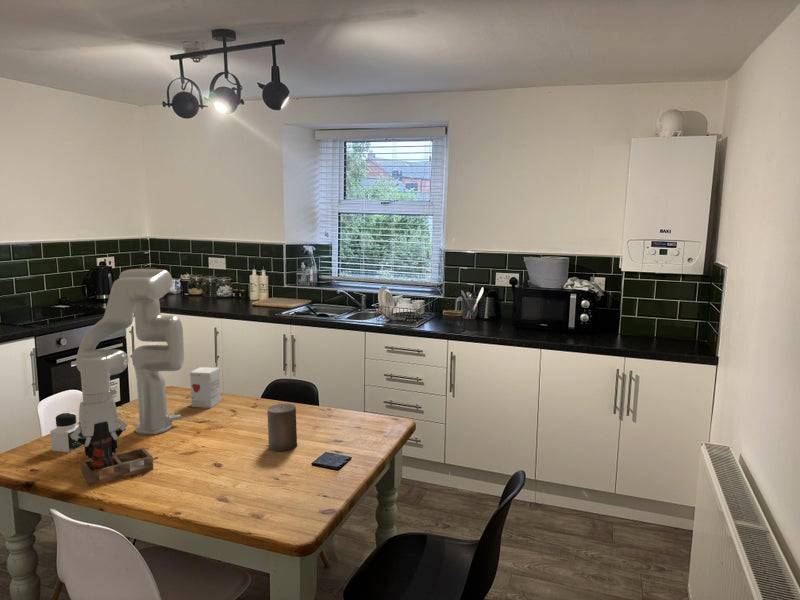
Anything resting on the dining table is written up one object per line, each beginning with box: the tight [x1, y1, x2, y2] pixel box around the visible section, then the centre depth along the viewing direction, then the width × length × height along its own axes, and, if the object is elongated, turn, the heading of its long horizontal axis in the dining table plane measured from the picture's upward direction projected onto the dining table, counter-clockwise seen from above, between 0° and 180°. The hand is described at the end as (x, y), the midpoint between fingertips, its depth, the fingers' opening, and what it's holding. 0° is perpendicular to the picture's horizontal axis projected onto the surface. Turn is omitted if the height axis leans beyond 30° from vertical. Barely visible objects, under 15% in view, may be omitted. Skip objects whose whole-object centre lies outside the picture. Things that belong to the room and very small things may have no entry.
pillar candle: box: [266, 403, 298, 452], centre depth 197 cm, size 10×10×15 cm
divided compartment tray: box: [80, 446, 154, 487], centre depth 177 cm, size 18×10×4 cm, turn 130°
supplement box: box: [189, 366, 222, 409], centre depth 242 cm, size 9×9×15 cm
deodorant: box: [90, 422, 114, 471], centre depth 174 cm, size 6×6×15 cm
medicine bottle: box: [49, 411, 84, 453], centre depth 195 cm, size 7×7×12 cm
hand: (101, 453), depth 174 cm, fingers closed on deodorant, 5 cm apart
